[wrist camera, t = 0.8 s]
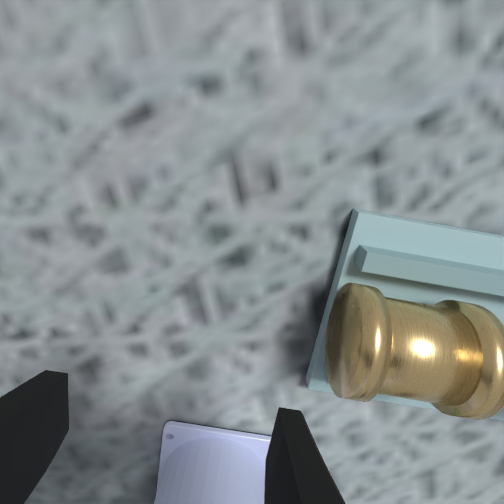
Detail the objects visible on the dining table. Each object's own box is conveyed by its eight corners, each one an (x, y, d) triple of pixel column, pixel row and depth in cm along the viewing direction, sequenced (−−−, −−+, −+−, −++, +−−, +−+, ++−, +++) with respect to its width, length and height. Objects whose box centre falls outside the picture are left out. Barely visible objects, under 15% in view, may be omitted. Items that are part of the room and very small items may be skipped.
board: (531, 414, 20) (562, 445, 18) (305, 377, 20) (310, 404, 17) (624, 257, 17) (677, 273, 14) (353, 208, 16) (367, 217, 14)
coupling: (319, 349, 18) (342, 426, 13) (343, 266, 16) (380, 318, 11) (420, 365, 18) (481, 448, 13) (454, 285, 16) (538, 345, 11)
